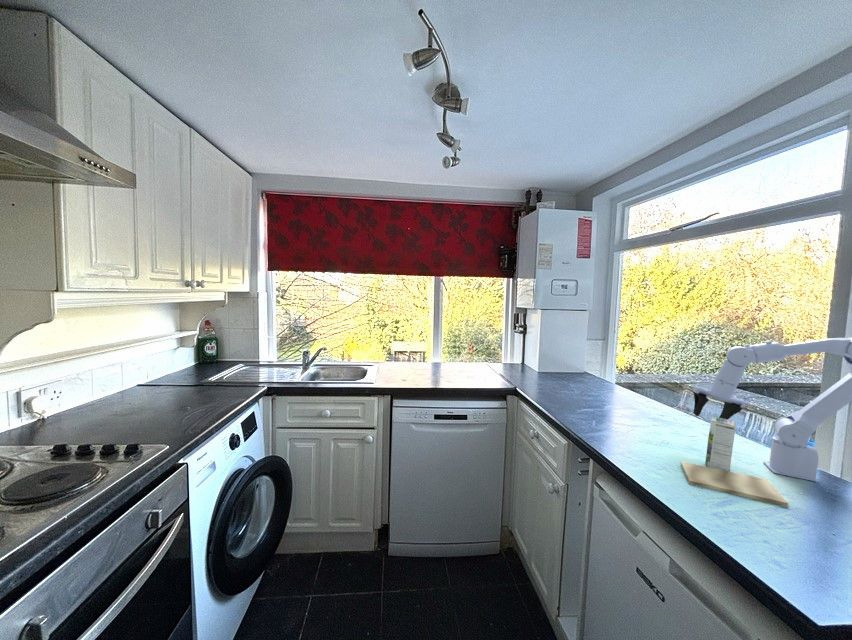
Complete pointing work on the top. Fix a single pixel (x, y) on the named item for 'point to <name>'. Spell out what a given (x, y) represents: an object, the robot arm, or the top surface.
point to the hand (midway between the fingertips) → (708, 418)
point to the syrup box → (720, 444)
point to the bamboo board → (732, 483)
